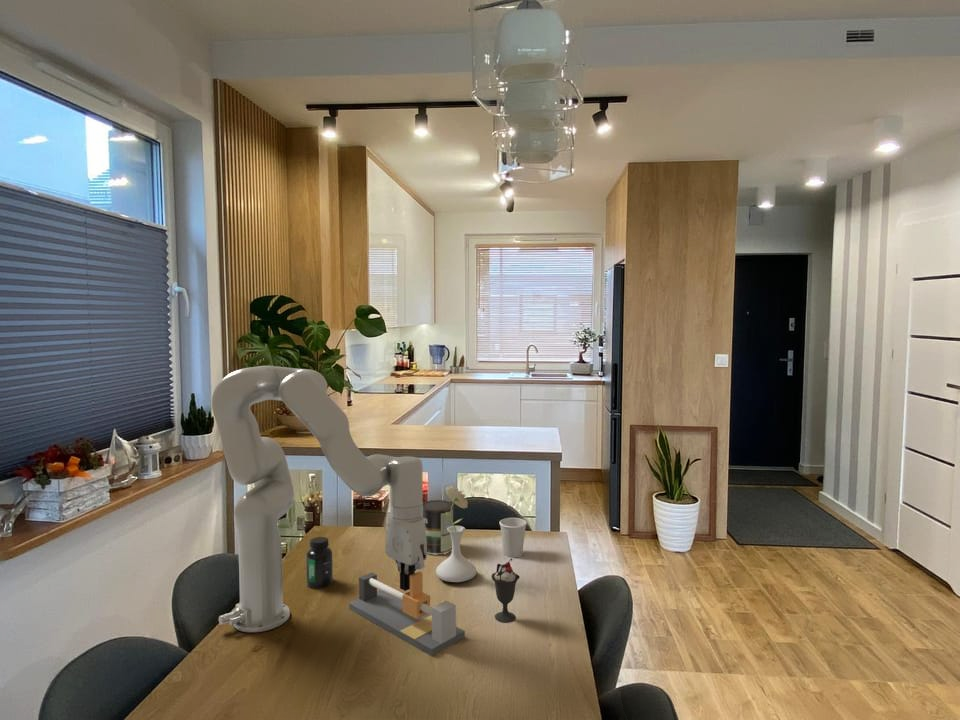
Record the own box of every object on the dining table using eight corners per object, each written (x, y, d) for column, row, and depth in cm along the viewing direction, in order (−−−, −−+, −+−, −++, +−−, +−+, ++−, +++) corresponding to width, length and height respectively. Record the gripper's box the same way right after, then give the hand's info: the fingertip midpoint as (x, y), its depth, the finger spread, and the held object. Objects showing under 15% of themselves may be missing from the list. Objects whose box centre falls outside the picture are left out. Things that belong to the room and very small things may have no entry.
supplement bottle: (312, 591, 152) (311, 546, 151) (303, 581, 157) (302, 538, 157) (336, 584, 156) (336, 540, 155) (327, 575, 161) (326, 533, 161)
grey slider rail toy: (349, 609, 142) (348, 575, 142) (381, 595, 150) (381, 563, 149) (431, 656, 122) (431, 617, 122) (464, 637, 129) (464, 600, 129)
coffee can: (424, 557, 174) (424, 511, 173) (417, 544, 184) (417, 501, 183) (457, 553, 177) (457, 508, 176) (449, 541, 187) (448, 498, 186)
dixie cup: (527, 549, 180) (527, 518, 180) (525, 560, 172) (525, 527, 171) (500, 548, 181) (501, 516, 181) (497, 558, 173) (497, 526, 173)
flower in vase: (482, 582, 157) (483, 492, 156) (443, 589, 153) (442, 496, 151) (466, 564, 169) (466, 480, 168) (428, 570, 165) (428, 484, 164)
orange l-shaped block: (402, 611, 133) (402, 573, 132) (415, 605, 136) (415, 568, 135) (416, 619, 130) (416, 580, 129) (430, 612, 132) (429, 574, 132)
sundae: (517, 625, 134) (517, 563, 134) (489, 622, 136) (489, 560, 135) (521, 612, 141) (521, 552, 140) (494, 609, 142) (494, 549, 141)
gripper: (373, 507, 136) (374, 583, 137) (415, 522, 126) (416, 604, 127) (398, 500, 141) (399, 573, 142) (440, 513, 131) (441, 592, 132)
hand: (407, 587), depth 135 cm, fingers closed
